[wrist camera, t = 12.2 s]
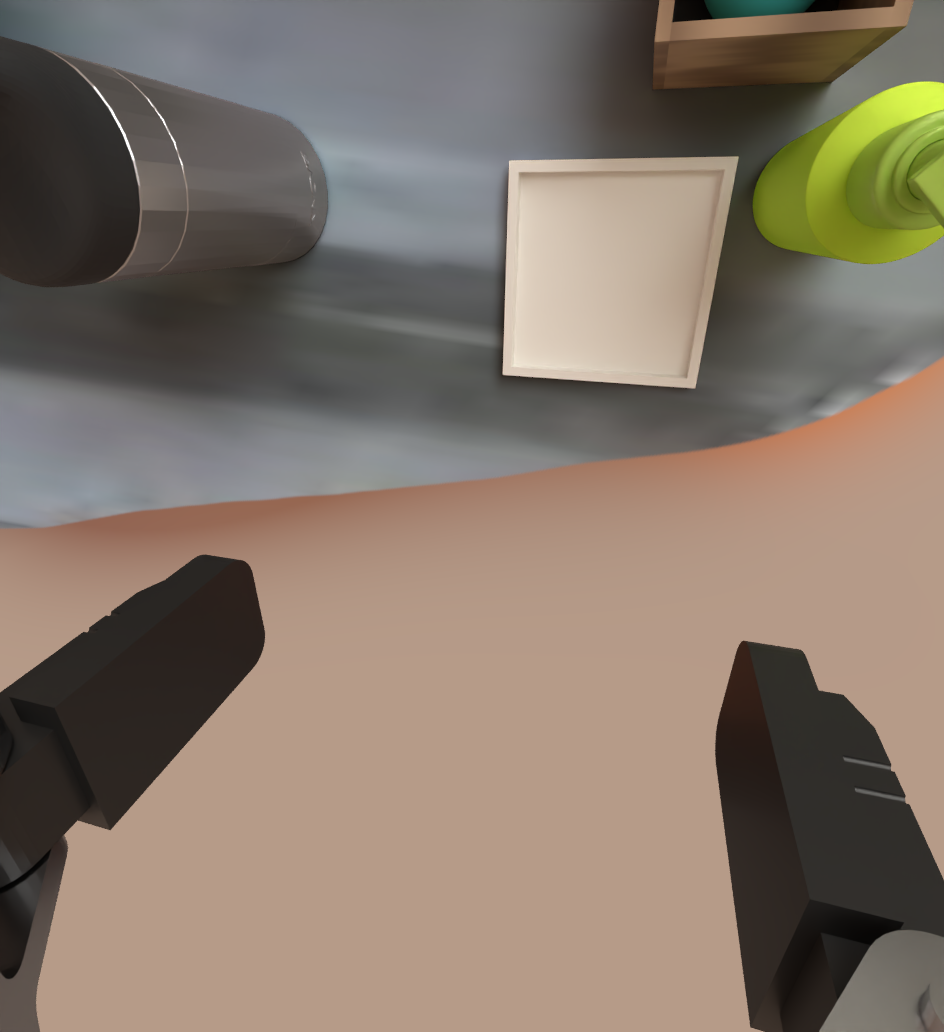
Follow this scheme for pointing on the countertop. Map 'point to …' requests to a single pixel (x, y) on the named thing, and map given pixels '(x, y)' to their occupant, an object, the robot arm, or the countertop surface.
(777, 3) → the ball
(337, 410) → the countertop surface
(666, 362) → the dish
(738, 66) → the box
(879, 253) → the soap dispenser
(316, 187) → the robot arm
